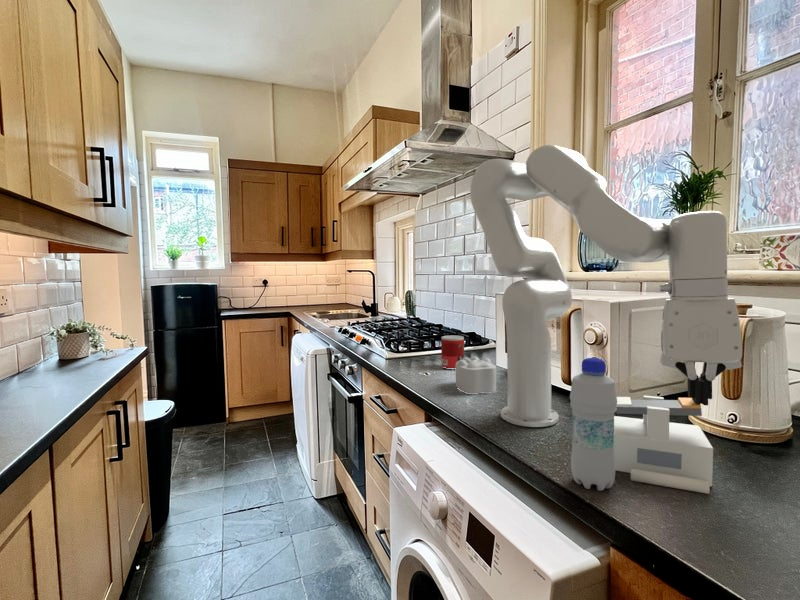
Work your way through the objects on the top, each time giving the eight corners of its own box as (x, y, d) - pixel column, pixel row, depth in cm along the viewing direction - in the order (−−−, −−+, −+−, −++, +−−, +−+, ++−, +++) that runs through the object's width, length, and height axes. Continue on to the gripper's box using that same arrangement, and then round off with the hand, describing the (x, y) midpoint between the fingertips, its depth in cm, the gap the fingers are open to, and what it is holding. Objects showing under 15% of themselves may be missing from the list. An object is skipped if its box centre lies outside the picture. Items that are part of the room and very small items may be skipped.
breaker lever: (615, 405, 75) (614, 396, 74) (695, 407, 69) (694, 397, 69) (616, 413, 70) (615, 404, 70) (702, 416, 65) (701, 406, 65)
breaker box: (608, 446, 78) (608, 390, 77) (698, 459, 72) (699, 398, 71) (609, 469, 69) (610, 406, 68) (712, 487, 63) (714, 417, 62)
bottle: (602, 472, 68) (603, 353, 67) (625, 493, 61) (627, 361, 60) (562, 473, 68) (562, 354, 67) (581, 495, 61) (582, 363, 60)
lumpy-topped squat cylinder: (465, 396, 112) (464, 364, 111) (450, 383, 125) (449, 355, 124) (500, 392, 114) (500, 362, 113) (482, 381, 127) (481, 353, 126)
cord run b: (631, 482, 65) (631, 471, 64) (630, 477, 66) (630, 466, 66) (709, 496, 60) (709, 484, 60) (706, 490, 62) (706, 478, 62)
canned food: (462, 370, 140) (462, 338, 139) (439, 369, 142) (439, 338, 141) (465, 365, 147) (465, 335, 146) (443, 365, 149) (443, 335, 149)
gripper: (646, 292, 66) (649, 405, 67) (766, 289, 60) (767, 414, 60) (641, 291, 73) (644, 393, 73) (748, 287, 66) (750, 400, 67)
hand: (699, 402), depth 67 cm, fingers closed
